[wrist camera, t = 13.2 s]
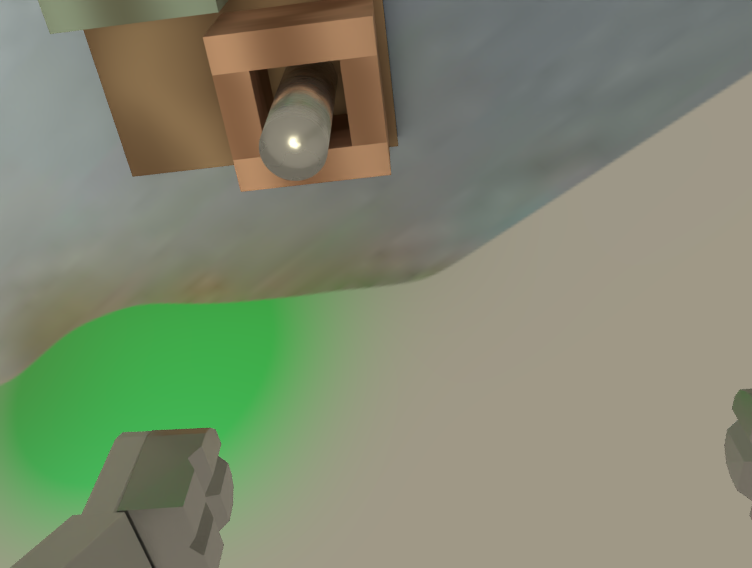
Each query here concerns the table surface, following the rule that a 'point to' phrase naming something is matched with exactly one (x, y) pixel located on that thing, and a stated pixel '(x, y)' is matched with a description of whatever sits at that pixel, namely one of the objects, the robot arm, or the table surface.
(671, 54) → the table surface
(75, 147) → the table surface
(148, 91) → the dock board
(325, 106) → the metal pin
